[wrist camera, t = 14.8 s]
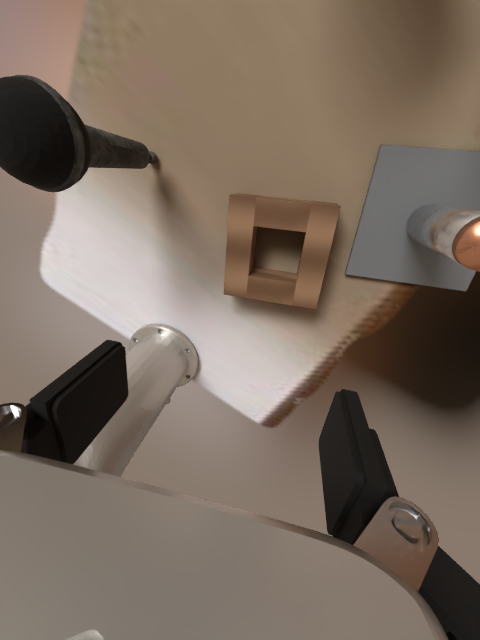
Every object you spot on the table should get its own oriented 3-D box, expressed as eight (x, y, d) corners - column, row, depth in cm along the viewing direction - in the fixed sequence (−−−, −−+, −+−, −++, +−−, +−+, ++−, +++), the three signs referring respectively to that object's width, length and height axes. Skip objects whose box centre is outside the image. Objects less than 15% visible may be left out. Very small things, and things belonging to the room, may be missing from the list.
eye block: (314, 297, 37) (316, 309, 34) (230, 284, 39) (223, 294, 36) (336, 203, 32) (340, 206, 28) (237, 193, 33) (229, 194, 30)
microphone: (189, 175, 34) (64, 165, 16) (145, 197, 36) (-4, 209, 19) (163, 113, 31) (-15, 23, 14) (119, 141, 34) (-82, 94, 16)
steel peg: (454, 206, 29) (538, 218, 18) (437, 243, 31) (506, 274, 20) (414, 202, 29) (473, 212, 19) (400, 239, 31) (448, 267, 21)
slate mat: (463, 289, 33) (465, 291, 32) (345, 273, 35) (345, 274, 34) (530, 156, 26) (535, 155, 26) (380, 145, 28) (381, 144, 28)
